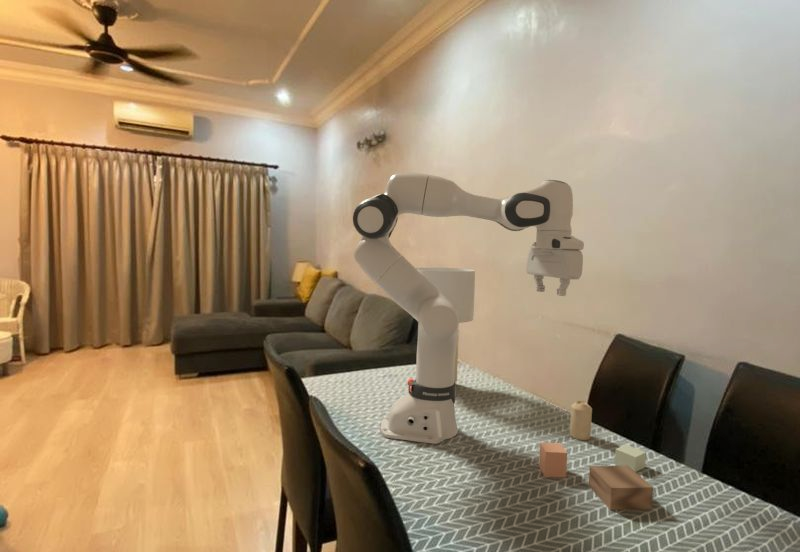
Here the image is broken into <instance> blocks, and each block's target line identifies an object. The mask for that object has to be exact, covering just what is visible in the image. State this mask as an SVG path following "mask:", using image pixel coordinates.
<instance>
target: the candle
mask: <svg viewBox="0 0 800 552" xmlns="http://www.w3.org/2000/svg"><path fill="white" fill-rule="evenodd" d="M592 414H593V408H592V406H590V405H589V404H588V403H587V402H586V401H584V400H577V401H575V402H574V403H572V404H571V405H570V422H569V423H570V424H569V436H570V437H572V438H573V439H576V440H579V441H588V440H590V439H591V433H592V432H591V431H592V419H593V418H592Z"/></svg>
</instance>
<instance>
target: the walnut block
mask: <svg viewBox="0 0 800 552" xmlns="http://www.w3.org/2000/svg"><path fill="white" fill-rule="evenodd" d="M588 473H589V475H588V487H589V489H590V490H591V491H592V492H593V493H594V494H595V495H596V496H597V497H598V499H600V501H602V503H603V504H604V505H605V506H606V507H607V508H608V509H609V511H622V510H623V511H627V510H629V511H631V510H652V507H653V504H652V503H653V493H654V487H653V486H652V485H651V484H650V483H648V481H646V480H645V479H644V478H643V477H642V476H640V475H639V474H638V473H637V472H635V471H634V470H632V469H631V468H630V467H629V466H618V465H590V466H589V472H588Z"/></svg>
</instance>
